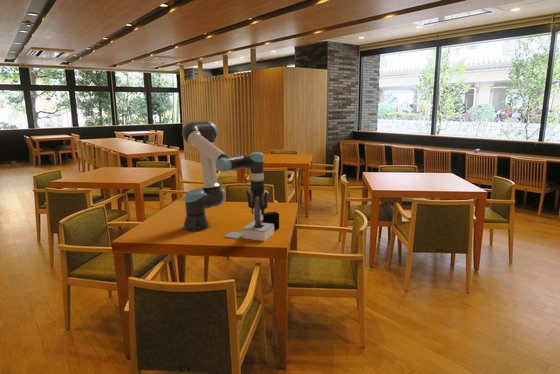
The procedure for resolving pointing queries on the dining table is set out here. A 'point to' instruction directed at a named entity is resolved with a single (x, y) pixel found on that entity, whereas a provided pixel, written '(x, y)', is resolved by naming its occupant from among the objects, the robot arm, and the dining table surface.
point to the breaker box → (258, 231)
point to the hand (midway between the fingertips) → (258, 219)
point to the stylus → (257, 213)
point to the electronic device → (271, 219)
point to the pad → (233, 235)
